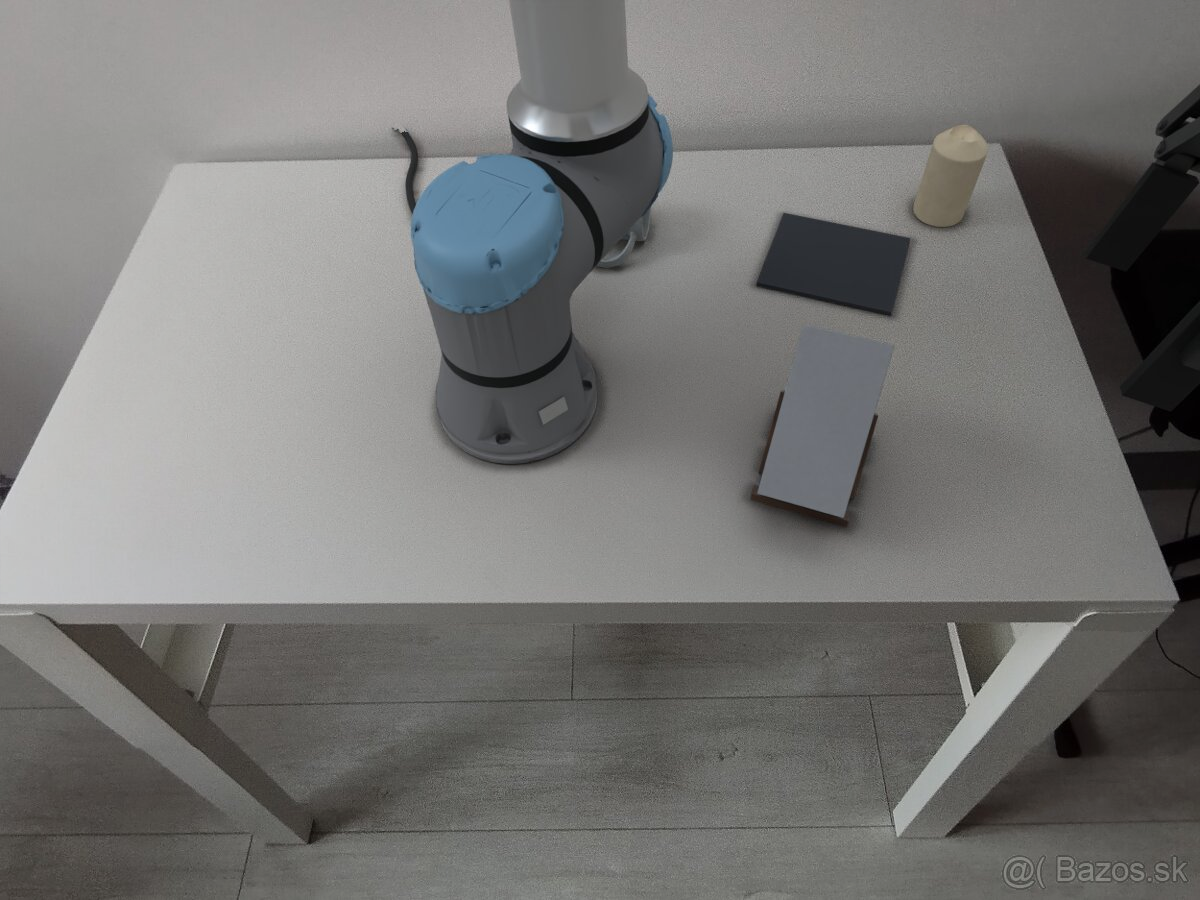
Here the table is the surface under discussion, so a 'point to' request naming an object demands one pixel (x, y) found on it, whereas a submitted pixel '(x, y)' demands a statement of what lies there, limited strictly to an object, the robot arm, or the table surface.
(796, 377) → the grey box
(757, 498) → the phone stand
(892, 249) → the mat
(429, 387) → the table surface
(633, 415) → the table surface
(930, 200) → the candle
